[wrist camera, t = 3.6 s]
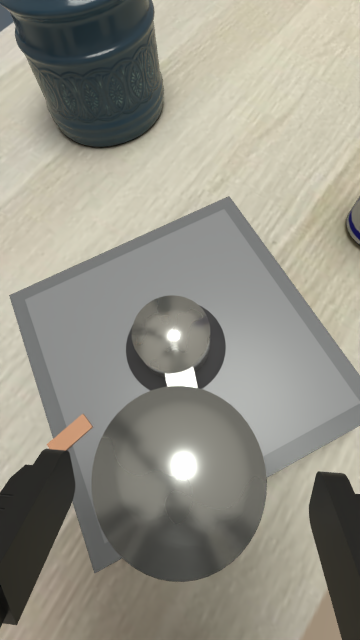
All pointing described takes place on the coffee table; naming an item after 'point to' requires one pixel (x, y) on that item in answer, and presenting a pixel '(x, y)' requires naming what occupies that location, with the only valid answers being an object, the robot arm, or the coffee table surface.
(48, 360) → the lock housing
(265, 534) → the coffee table surface
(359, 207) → the beverage can
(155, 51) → the canister
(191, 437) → the lever
